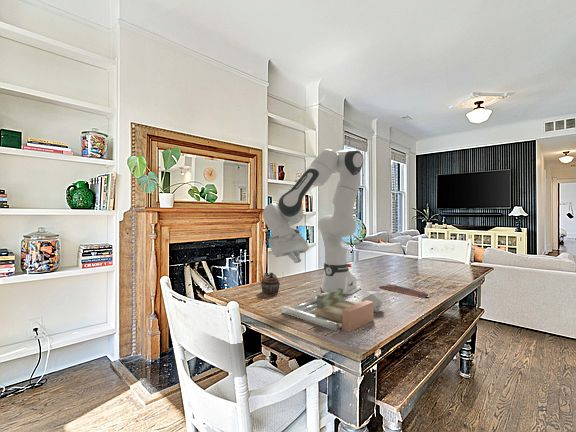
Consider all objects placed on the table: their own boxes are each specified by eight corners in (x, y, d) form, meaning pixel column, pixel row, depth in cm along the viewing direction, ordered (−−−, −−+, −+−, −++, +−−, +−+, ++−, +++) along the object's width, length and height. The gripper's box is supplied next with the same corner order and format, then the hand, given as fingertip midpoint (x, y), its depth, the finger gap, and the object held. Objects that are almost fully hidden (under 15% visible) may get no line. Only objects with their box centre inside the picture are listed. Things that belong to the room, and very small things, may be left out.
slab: (340, 305, 130) (340, 287, 130) (365, 312, 122) (366, 293, 122) (315, 314, 119) (315, 295, 119) (341, 322, 111) (341, 302, 110)
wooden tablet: (436, 293, 154) (426, 294, 148) (435, 298, 154) (425, 299, 148) (388, 283, 175) (378, 284, 169) (388, 287, 175) (377, 288, 168)
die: (373, 317, 125) (387, 297, 126) (355, 303, 129) (369, 284, 130) (375, 318, 132) (388, 299, 133) (357, 305, 136) (370, 286, 137)
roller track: (316, 301, 143) (316, 296, 143) (369, 316, 124) (369, 310, 124) (282, 312, 128) (282, 306, 128) (336, 331, 109) (336, 324, 109)
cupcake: (283, 293, 156) (283, 273, 156) (264, 296, 152) (264, 275, 151) (275, 289, 164) (275, 270, 164) (257, 291, 160) (257, 271, 160)
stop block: (366, 318, 122) (366, 300, 122) (373, 320, 120) (373, 301, 119) (342, 329, 110) (342, 309, 110) (349, 331, 108) (349, 311, 108)
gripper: (271, 233, 132) (286, 261, 126) (302, 230, 147) (317, 255, 141) (262, 241, 135) (277, 269, 129) (294, 238, 150) (308, 263, 145)
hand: (298, 262), depth 135 cm, fingers closed
